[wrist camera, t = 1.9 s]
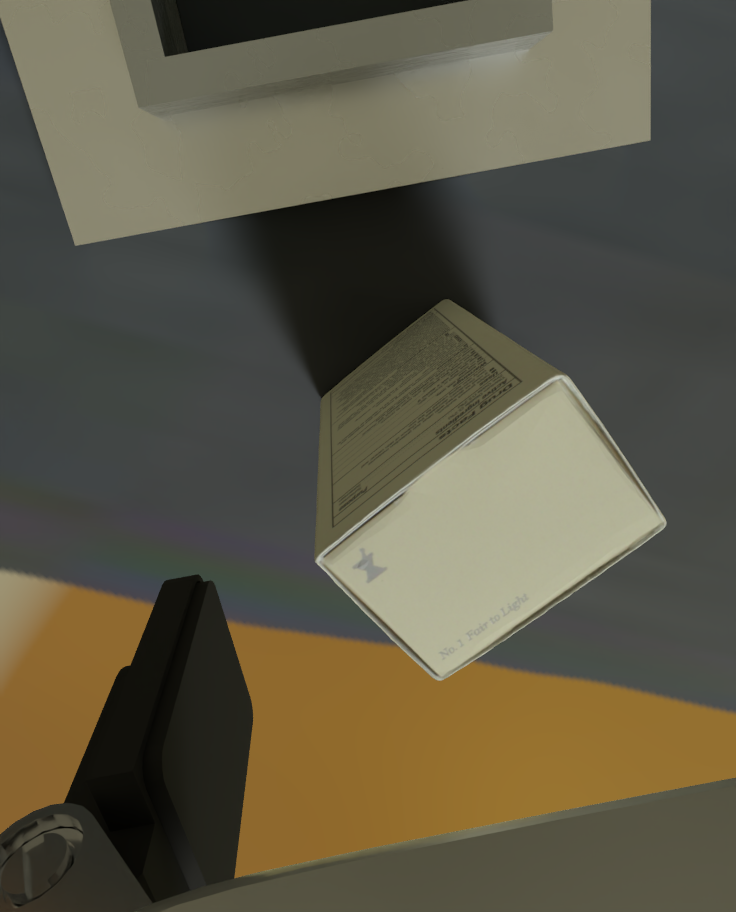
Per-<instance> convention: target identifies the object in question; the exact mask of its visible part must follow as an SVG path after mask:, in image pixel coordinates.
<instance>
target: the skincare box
mask: <svg viewBox="0 0 736 912" xmlns="http://www.w3.org/2000/svg"><path fill="white" fill-rule="evenodd" d="M665 526H666V520H665V517H664V516H663V514H662V513H661V511H660V510H659V508H658V507H657V505H656V504H655V502H654V501H653V499H652V498H651V496H650V495H649V493H648V491H647V490H646V488H645V487H644V485H643V484H642V482H641V481H640V479H639V478H638V476H637V475H636V473H635V471H634V470H633V468H632V467H631V465H630V464H629V462H628V461H627V459H626V458H625V457H624V455H623V454H622V452H621V451H620V449H619V448H618V446H617V445H616V443H615V442H614V440H613V439H612V437H611V436H610V434H609V433H608V431H607V430H606V428H605V427H604V425H603V424H602V422H601V421H600V420H599V418H598V417H597V415H596V414H595V412H594V411H593V410H592V408H591V407H590V405H589V404H588V403H587V401H586V400H585V398H584V397H583V396H582V394H581V393H580V391H579V390H578V389H577V387H576V386H575V384H574V383H573V382H572V380H571V379H570V378H569V377H568V376H567V375H566V374H564V373H563V372H561V371H559V370H558V369H556V368H554V367H553V366H551V365H550V364H548V363H546V362H545V361H543V360H541V359H540V358H538V357H537V356H535V355H534V354H532V353H531V352H529V351H528V350H526V349H524V348H523V347H521V346H520V345H518V344H517V343H515V342H514V341H512V340H511V339H509V338H508V337H506V336H505V335H503V334H502V333H500V332H498V331H497V330H495V329H494V328H492V327H491V326H489V325H488V324H486V323H484V322H483V321H481V320H480V319H478V318H477V317H475V316H474V315H473V314H471V313H469V312H468V311H466V310H465V309H463V308H462V307H460V306H459V305H457V304H455V303H454V302H452V301H451V300H449V299H445V300H443V301H441V302H440V303H438V304H437V305H436V306H434V307H433V308H432V309H430V310H429V311H428V312H427V313H425V314H424V315H423V316H421V317H420V318H419V319H417V320H416V321H415V322H414V323H412V324H411V325H410V326H408V327H407V328H406V329H405V330H403V331H402V332H401V333H400V334H398V335H397V336H396V337H395V338H393V339H392V340H391V341H390V342H388V343H387V344H386V345H384V346H383V347H382V348H381V349H380V350H379V351H377V352H376V353H375V354H374V355H372V356H371V357H370V358H369V359H367V360H366V361H365V362H364V363H362V364H361V365H360V366H359V367H358V368H356V369H355V370H354V371H353V372H352V373H350V374H349V375H348V376H347V377H345V378H344V379H343V380H342V381H341V382H340V383H338V384H337V385H336V386H335V387H334V388H333V389H332V390H330V391H329V392H328V393H327V394H326V395H324V396H323V398H322V399H321V409H320V437H319V464H318V486H317V516H316V534H315V562H316V563H317V564H318V565H319V566H320V567H321V568H322V569H323V570H324V571H325V572H326V573H327V574H328V575H329V576H330V577H331V578H332V579H333V581H334V582H335V583H336V584H337V585H338V586H339V587H340V588H341V589H342V590H343V591H344V592H345V593H346V594H347V595H348V596H349V597H350V598H351V599H352V600H353V601H354V602H355V603H356V604H357V605H358V606H359V607H360V608H361V609H362V611H363V612H365V613H366V614H367V615H368V616H369V617H370V618H371V619H372V620H373V621H374V622H375V623H376V624H377V625H378V626H379V627H380V628H381V629H382V630H383V631H384V632H385V633H386V634H387V635H388V636H389V637H390V638H391V640H393V641H394V642H395V643H396V644H397V645H398V646H399V647H400V648H401V649H402V650H403V651H404V652H405V653H406V654H408V655H409V656H410V657H411V658H412V659H413V660H414V661H415V662H416V663H417V664H418V665H420V666H421V667H422V668H423V669H424V670H425V671H426V672H427V673H428V674H429V675H430V676H431V677H432V678H434V679H436V680H443V679H445V678H447V677H449V676H450V675H452V674H453V673H455V672H456V671H458V670H459V669H461V668H463V667H465V666H466V665H468V664H469V663H471V662H472V661H474V660H475V659H477V658H479V657H480V656H482V655H484V654H485V653H486V652H488V651H489V650H491V649H492V648H493V647H495V646H496V645H498V644H499V643H501V642H503V641H504V640H506V639H507V638H509V637H510V636H511V635H513V634H514V633H516V632H517V631H518V630H520V629H522V628H523V627H525V626H526V625H528V624H529V623H531V622H532V621H533V620H535V619H537V618H538V617H540V616H541V615H543V614H544V613H545V612H547V611H548V610H549V609H550V608H552V607H553V606H555V605H556V604H558V603H559V602H561V601H562V600H564V599H566V598H567V597H569V596H570V595H571V594H572V593H573V592H575V591H577V590H578V589H580V588H581V587H582V586H584V585H585V584H587V583H588V582H590V581H591V580H593V579H594V578H596V577H597V576H598V575H600V574H601V573H603V572H604V571H605V570H607V569H608V568H609V567H610V566H612V565H613V564H615V563H616V562H618V561H619V560H621V559H622V558H624V557H625V556H627V555H628V554H629V553H631V552H632V551H633V550H635V549H637V548H638V547H639V546H641V545H642V544H643V543H645V542H646V541H647V540H649V539H650V538H652V537H653V536H654V535H656V534H657V533H659V532H660V531H661V530H662V529H663V528H665Z"/></svg>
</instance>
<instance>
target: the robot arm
mask: <svg viewBox="0 0 736 912" xmlns="http://www.w3.org/2000/svg"><path fill="white" fill-rule="evenodd" d="M252 725H253V710H252V703H251V699H250V696H249V692H248V689H247V686H246V683H245V680H244V676H243V673H242V670H241V666H240V664H239V660H238V657H237V654H236V651H235V647H234V644H233V641H232V638H231V635H230V632H229V629H228V625H227V622H226V619H225V616H224V612H223V609H222V606H221V603H220V600H219V596H218V593H217V590H216V587H215V585H214V583H213V582H212V581H206V582H203V579H202V578H201V576H200V575H192V576H187V577H181V578H176V579H171V580H166V581H164V583H163V585H162V587H161V590H160V592H159V595H158V597H157V600H156V602H155V605H154V607H153V610H152V613H151V615H150V618H149V620H148V623H147V625H146V628H145V630H144V633H143V635H142V638H141V640H140V643H139V646H138V648H137V651H136V653H135V656H134V658H133V661H132V663H131V665H130V666H126V667H124V668H122V669H121V670H120V672H119V673H118V675H117V677H116V679H115V681H114V684H113V686H112V689H111V691H110V693H109V696H108V698H107V701H106V703H105V706H104V708H103V710H102V713H101V715H100V717H99V720H98V722H97V725H96V727H95V729H94V732H93V734H92V737H91V739H90V741H89V744H88V746H87V749H86V751H85V754H84V756H83V758H82V761H81V763H80V766H79V768H78V770H77V773H76V775H75V778H74V780H73V782H72V785H71V787H70V790H69V792H68V795H67V797H66V799H65V802H64V803H63V804H54V805H50V806H47V807H44V808H42V809H39V810H36V811H33V812H32V813H30V814H28V815H27V816H25V817H23V818H22V819H20V820H18V821H16V822H15V823H13V824H12V825H11V826H10V827H9V828H7V829H6V830H5V831H4V832H3V833H1V834H0V912H736V778H732V779H727V780H721V781H716V782H711V783H706V784H700V785H695V786H690V787H684V788H679V789H674V790H668V791H663V792H658V793H652V794H647V795H642V796H637V797H632V798H626V799H622V800H616V801H611V802H605V803H600V804H595V805H590V806H585V807H579V808H574V809H569V810H563V811H558V812H553V813H548V814H543V815H538V816H533V817H527V818H523V819H517V820H512V821H507V822H502V823H497V824H492V825H487V826H482V827H477V828H471V829H467V830H462V831H456V832H451V833H446V834H441V835H436V836H431V837H426V838H420V839H415V840H410V841H405V842H400V843H395V844H390V845H385V846H380V847H375V848H370V849H365V850H361V851H356V852H351V853H346V854H342V855H338V856H332V857H328V858H323V859H318V860H314V861H309V862H304V863H300V864H295V865H290V866H286V867H281V868H277V869H272V870H268V871H263V872H258V873H254V874H250V875H246V876H242V877H239V878H234V875H235V867H236V858H237V850H238V841H239V833H240V824H241V817H242V808H243V800H244V791H245V782H246V775H247V766H248V758H249V750H250V741H251V732H252Z"/></svg>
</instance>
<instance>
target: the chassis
mask: <svg viewBox="0 0 736 912" xmlns="http://www.w3.org/2000/svg"><path fill="white" fill-rule="evenodd" d="M0 18H1V21H2V24H3V27H4V30H5V33H6V36H7V39H8V42H9V45H10V48H11V52H12V55H13V58H14V61H15V64H16V67H17V70H18V73H19V76H20V79H21V82H22V85H23V88H24V91H25V94H26V97H27V100H28V103H29V106H30V109H31V112H32V115H33V118H34V121H35V124H36V128H37V131H38V134H39V137H40V140H41V143H42V146H43V149H44V152H45V155H46V158H47V161H48V164H49V167H50V170H51V173H52V176H53V179H54V182H55V185H56V188H57V191H58V194H59V197H60V200H61V203H62V207H63V210H64V213H65V216H66V219H67V222H68V225H69V228H70V231H71V234H72V237H73V240H74V243H75V246H76V245H82V244H88V243H94V242H100V241H106V240H111V239H116V238H122V237H127V236H133V235H138V234H144V233H149V232H155V231H160V230H166V229H171V228H177V227H182V226H187V225H193V224H198V223H204V222H209V221H215V220H220V219H226V218H231V217H237V216H242V215H247V214H253V213H258V212H264V211H269V210H275V209H280V208H286V207H291V206H297V205H302V204H308V203H313V202H318V201H324V200H329V199H335V198H340V197H346V196H351V195H357V194H362V193H368V192H373V191H378V190H384V189H389V188H395V187H400V186H406V185H411V184H417V183H422V182H428V181H433V180H439V179H444V178H449V177H455V176H460V175H466V174H471V173H477V172H482V171H488V170H493V169H499V168H504V167H510V166H515V165H520V164H526V163H531V162H537V161H542V160H548V159H553V158H559V157H564V156H570V155H575V154H580V153H586V152H591V151H597V150H602V149H608V148H613V147H619V146H624V145H629V144H634V143H639V142H644V141H650V105H651V0H467V1H462V2H456V3H451V4H446V5H440V6H435V7H430V8H424V9H419V10H414V11H408V12H403V13H397V14H392V15H387V16H381V17H376V18H371V19H365V20H360V21H355V22H349V23H344V24H339V25H333V26H328V27H322V28H317V29H312V30H306V31H301V32H296V33H290V34H285V35H280V36H274V37H269V38H264V39H258V40H253V41H247V42H242V43H237V44H231V45H226V46H221V47H215V48H210V49H205V50H199V51H194V52H189V53H188V49H187V45H186V41H185V36H184V32H183V28H182V24H181V20H180V15H179V11H178V7H177V3H176V0H0Z"/></svg>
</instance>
